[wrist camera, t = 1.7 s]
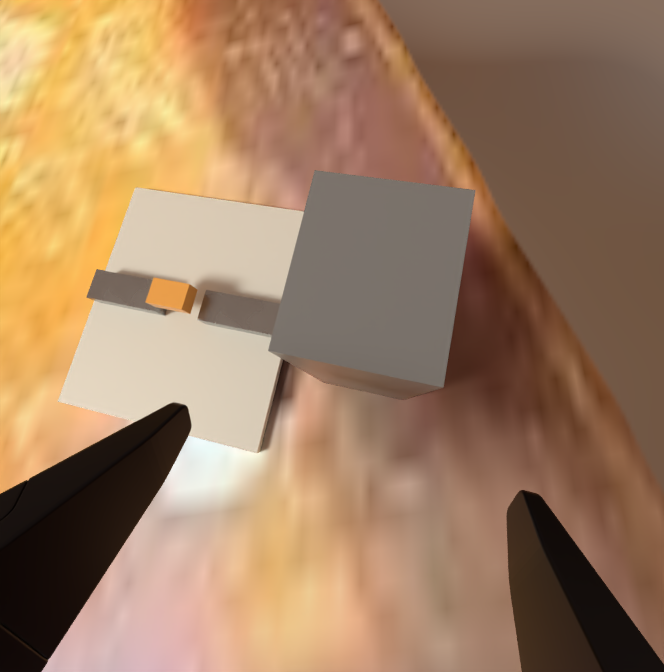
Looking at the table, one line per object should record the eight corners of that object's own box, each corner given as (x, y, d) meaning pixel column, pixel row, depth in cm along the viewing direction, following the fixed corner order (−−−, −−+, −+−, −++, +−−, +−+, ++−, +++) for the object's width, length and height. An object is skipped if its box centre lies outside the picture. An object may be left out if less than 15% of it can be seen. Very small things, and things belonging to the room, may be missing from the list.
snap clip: (190, 314, 21) (181, 309, 20) (155, 307, 22) (145, 302, 21) (197, 289, 22) (189, 284, 21) (163, 283, 22) (153, 277, 21)
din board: (260, 451, 21) (256, 453, 21) (65, 401, 23) (57, 401, 23) (318, 218, 24) (317, 213, 24) (140, 192, 26) (135, 187, 26)
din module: (403, 400, 21) (443, 387, 9) (323, 382, 22) (267, 350, 10) (420, 303, 22) (476, 184, 10) (344, 290, 23) (316, 164, 11)
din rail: (277, 338, 22) (272, 335, 21) (100, 302, 24) (86, 297, 23) (285, 309, 22) (280, 303, 21) (109, 276, 24) (96, 269, 23)
